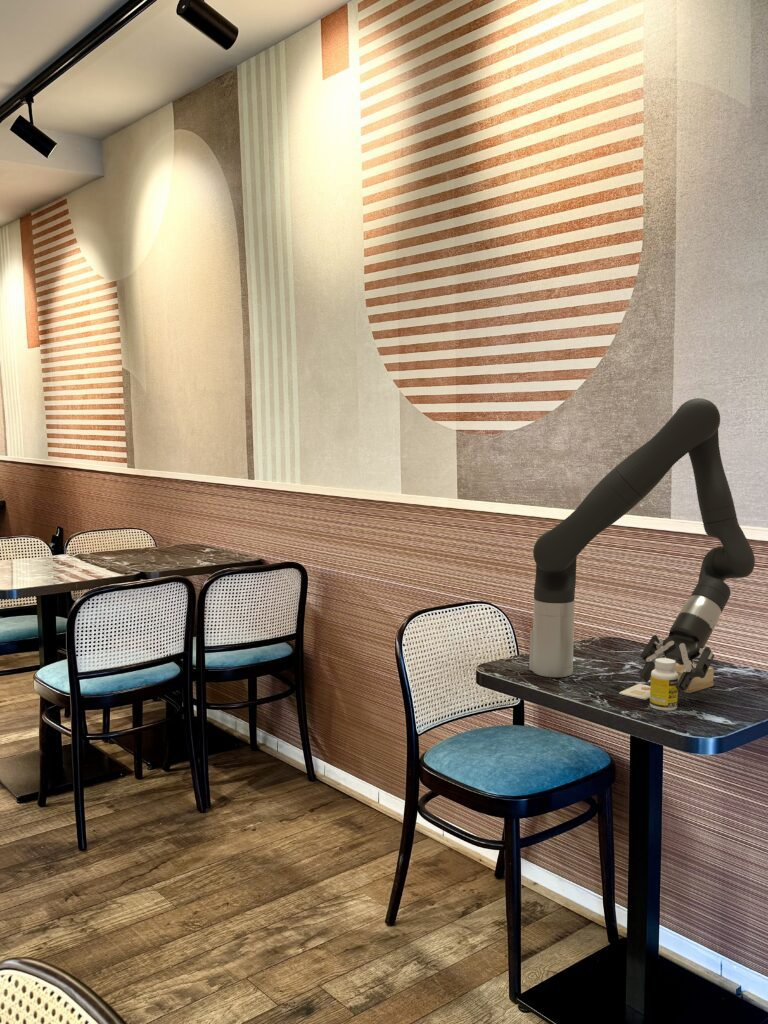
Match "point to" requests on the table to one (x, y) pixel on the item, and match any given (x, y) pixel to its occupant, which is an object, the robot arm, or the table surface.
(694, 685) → the beech block
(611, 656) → the table surface
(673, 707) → the supplement bottle
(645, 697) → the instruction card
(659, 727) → the table surface
